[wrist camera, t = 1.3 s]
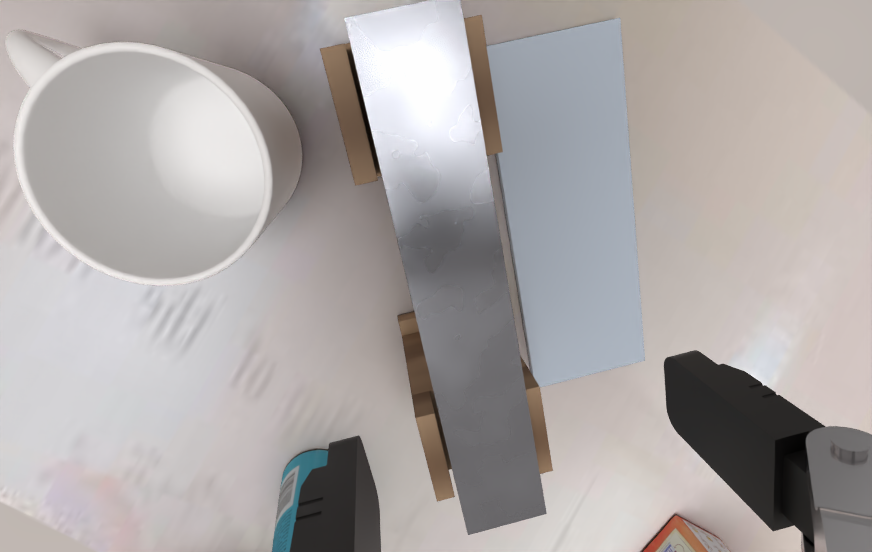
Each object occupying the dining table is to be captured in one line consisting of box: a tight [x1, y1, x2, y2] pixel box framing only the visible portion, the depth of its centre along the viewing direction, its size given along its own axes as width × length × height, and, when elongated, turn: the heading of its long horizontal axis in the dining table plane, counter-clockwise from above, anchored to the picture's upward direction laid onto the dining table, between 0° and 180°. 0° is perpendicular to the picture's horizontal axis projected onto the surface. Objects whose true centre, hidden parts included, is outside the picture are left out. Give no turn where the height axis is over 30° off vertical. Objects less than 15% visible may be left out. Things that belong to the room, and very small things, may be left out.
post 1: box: [320, 15, 503, 186], centre depth 24 cm, size 7×6×10 cm
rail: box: [344, 0, 546, 535], centre depth 22 cm, size 22×4×4 cm, turn 11°
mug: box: [5, 30, 302, 286], centre depth 23 cm, size 9×12×11 cm
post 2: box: [398, 312, 553, 501], centre depth 29 cm, size 7×6×10 cm
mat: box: [486, 18, 645, 387], centre depth 32 cm, size 22×8×1 cm, turn 11°
